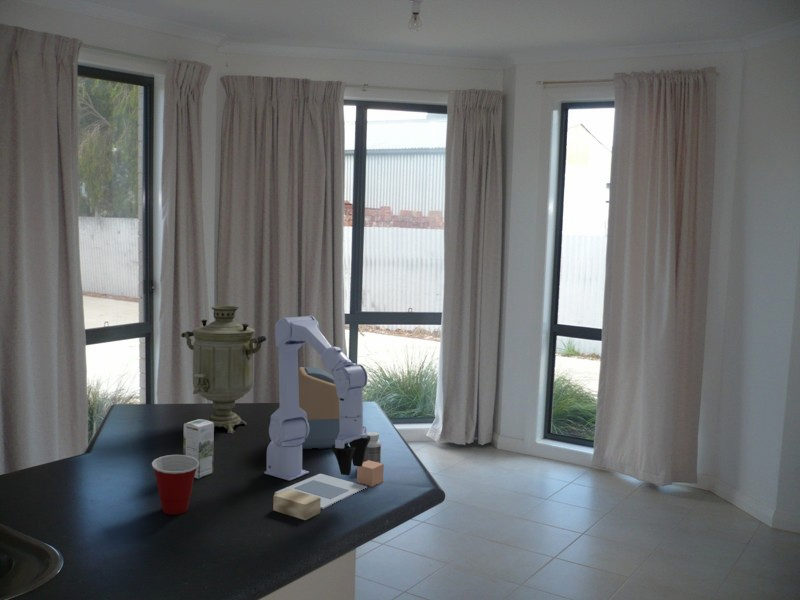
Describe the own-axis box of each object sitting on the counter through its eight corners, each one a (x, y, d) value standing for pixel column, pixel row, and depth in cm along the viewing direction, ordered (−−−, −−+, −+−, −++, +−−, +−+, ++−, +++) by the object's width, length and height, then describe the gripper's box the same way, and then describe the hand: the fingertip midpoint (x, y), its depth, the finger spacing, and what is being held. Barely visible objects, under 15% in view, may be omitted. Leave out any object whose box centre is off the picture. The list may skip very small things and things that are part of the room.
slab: (273, 511, 180) (273, 495, 180) (288, 504, 185) (288, 488, 184) (305, 521, 175) (305, 504, 174) (320, 513, 180) (320, 497, 179)
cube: (357, 483, 200) (357, 464, 200) (368, 477, 205) (368, 460, 204) (372, 487, 198) (372, 468, 197) (383, 481, 202) (383, 463, 201)
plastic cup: (173, 523, 171) (173, 472, 170) (142, 512, 177) (141, 462, 175) (209, 508, 180) (209, 459, 179) (178, 498, 186) (177, 451, 185)
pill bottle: (384, 468, 212) (384, 434, 211) (367, 471, 209) (368, 437, 208) (374, 462, 217) (374, 429, 216) (358, 465, 214) (358, 432, 213)
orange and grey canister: (347, 449, 229) (348, 374, 226) (292, 452, 225) (293, 375, 222) (338, 433, 245) (339, 363, 242) (286, 436, 241) (287, 364, 238)
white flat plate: (274, 493, 191) (274, 492, 191) (320, 474, 206) (320, 473, 205) (323, 508, 182) (323, 507, 182) (367, 487, 197) (367, 486, 197)
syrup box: (198, 469, 207) (198, 418, 206) (214, 473, 204) (214, 421, 203) (182, 475, 202) (182, 422, 201) (198, 479, 199) (198, 426, 198)
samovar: (154, 428, 244) (153, 307, 240) (216, 413, 266) (216, 300, 261) (216, 446, 227) (217, 316, 223) (277, 428, 249) (278, 308, 244)
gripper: (354, 422, 174) (355, 480, 175) (377, 410, 188) (377, 463, 189) (326, 420, 177) (327, 477, 178) (351, 408, 190) (352, 461, 191)
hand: (351, 470), depth 183 cm, fingers open, 7 cm apart
